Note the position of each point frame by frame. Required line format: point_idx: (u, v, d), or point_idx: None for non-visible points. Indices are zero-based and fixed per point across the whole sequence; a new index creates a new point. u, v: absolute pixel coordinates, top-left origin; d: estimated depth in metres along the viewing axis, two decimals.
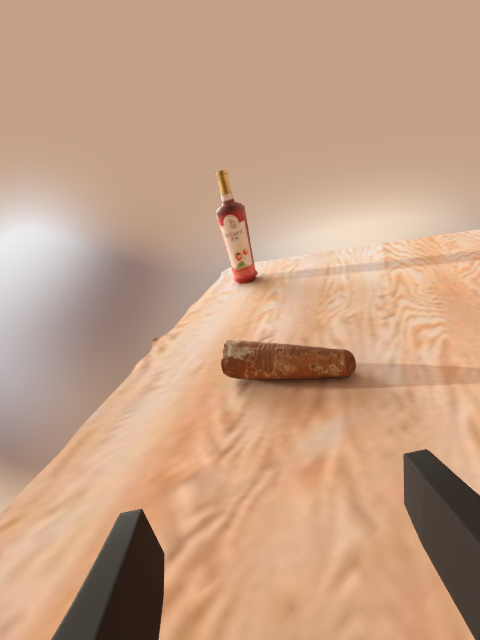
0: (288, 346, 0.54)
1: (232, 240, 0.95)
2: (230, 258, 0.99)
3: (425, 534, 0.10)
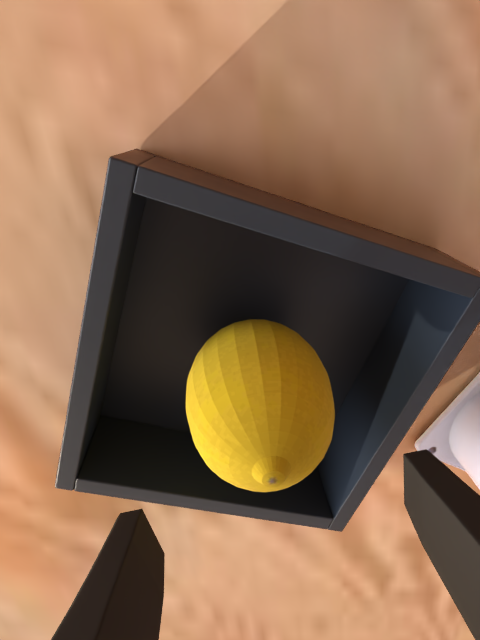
0: None
1: None
2: None
3: (425, 534, 0.10)
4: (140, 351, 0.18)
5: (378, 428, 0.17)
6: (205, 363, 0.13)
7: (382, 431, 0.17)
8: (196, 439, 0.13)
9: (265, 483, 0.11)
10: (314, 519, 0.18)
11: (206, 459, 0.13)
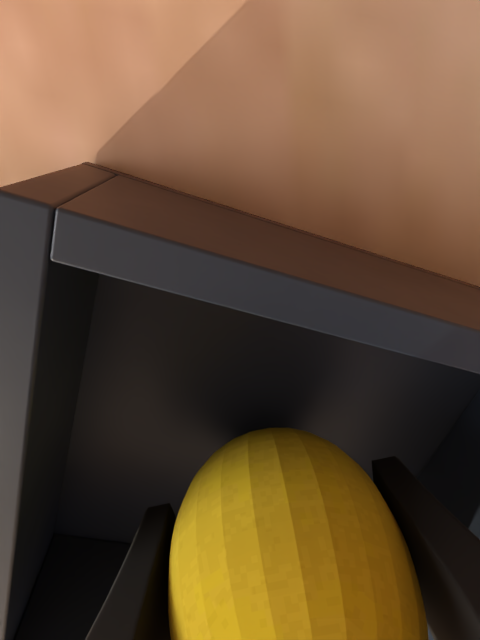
0: None
1: None
2: None
3: None
4: (107, 454, 0.12)
5: None
6: (199, 540, 0.08)
7: None
8: None
9: None
10: None
11: None
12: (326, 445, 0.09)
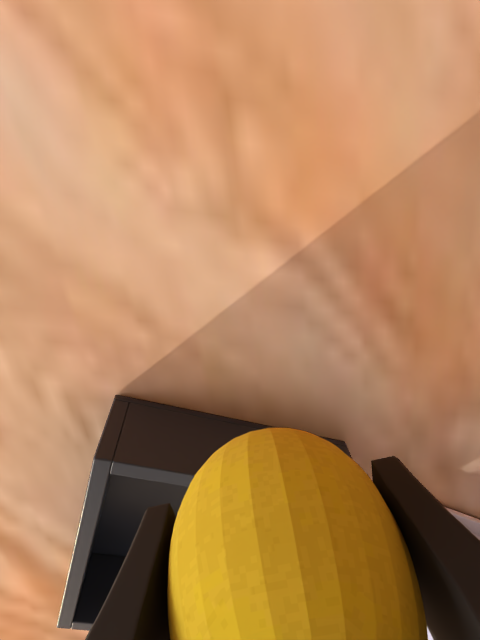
0: None
1: None
2: None
3: None
4: (121, 512, 0.24)
5: None
6: (199, 540, 0.08)
7: None
8: None
9: None
10: None
11: None
12: (326, 445, 0.09)
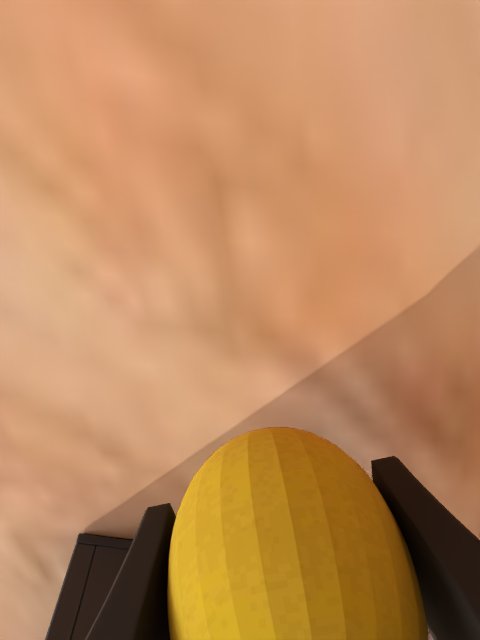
0: None
1: None
2: None
3: None
4: None
5: None
6: (199, 540, 0.08)
7: None
8: None
9: None
10: None
11: None
12: (326, 445, 0.09)
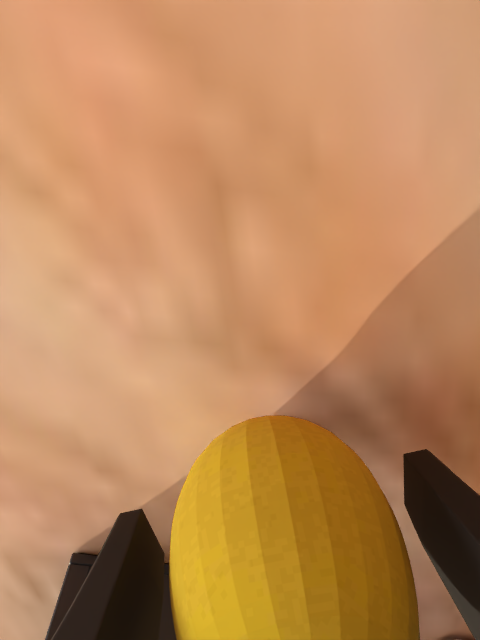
0: None
1: None
2: None
3: (425, 534, 0.10)
4: None
5: None
6: (199, 519, 0.08)
7: None
8: None
9: None
10: None
11: None
12: (321, 431, 0.10)
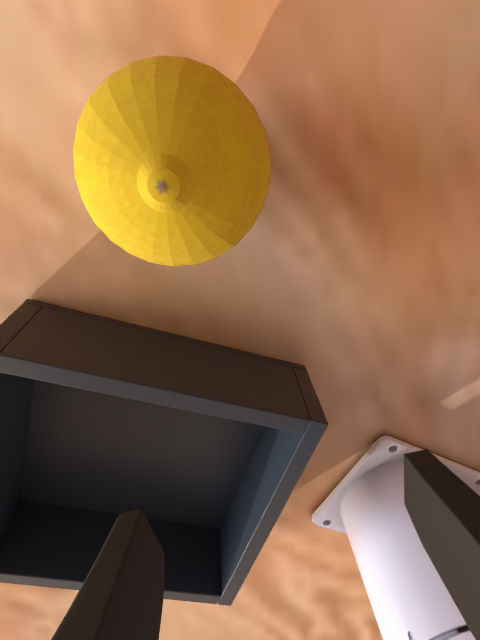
0: None
1: None
2: None
3: (425, 534, 0.10)
4: (49, 450, 0.21)
5: (250, 523, 0.19)
6: None
7: (252, 528, 0.19)
8: (76, 176, 0.09)
9: (153, 192, 0.08)
10: (203, 597, 0.21)
11: (88, 199, 0.09)
12: None
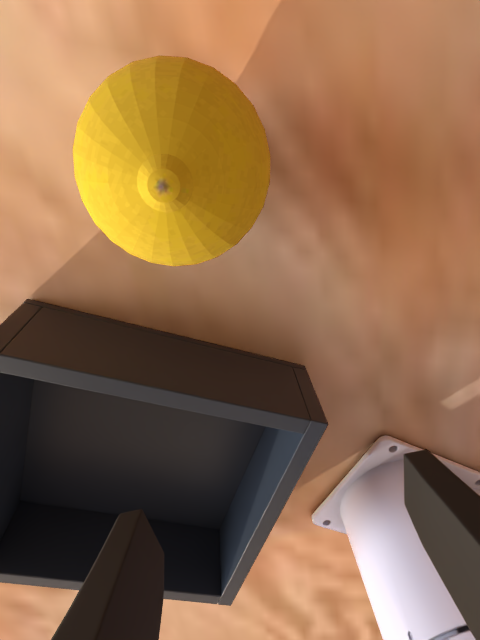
0: None
1: None
2: None
3: (425, 534, 0.10)
4: (49, 450, 0.21)
5: (250, 523, 0.19)
6: None
7: (252, 528, 0.19)
8: (76, 176, 0.09)
9: (153, 192, 0.08)
10: (203, 597, 0.21)
11: (88, 199, 0.09)
12: None
